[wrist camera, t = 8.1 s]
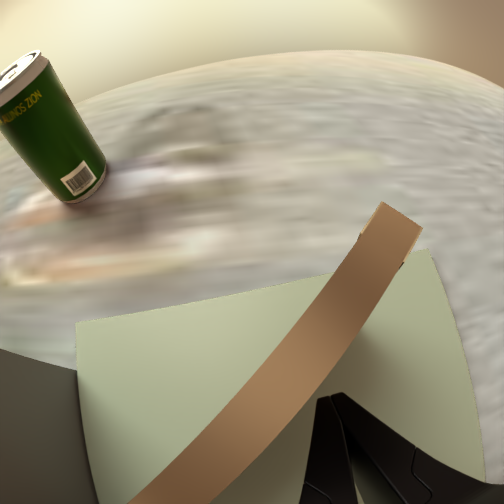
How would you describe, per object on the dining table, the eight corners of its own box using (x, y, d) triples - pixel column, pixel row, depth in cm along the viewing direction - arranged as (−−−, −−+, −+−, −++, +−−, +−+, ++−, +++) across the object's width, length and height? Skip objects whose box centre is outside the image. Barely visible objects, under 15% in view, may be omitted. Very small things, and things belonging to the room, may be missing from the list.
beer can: (121, 169, 23) (52, 48, 12) (74, 217, 21) (-18, 108, 10) (91, 149, 25) (31, 47, 14) (50, 190, 23) (-25, 96, 12)
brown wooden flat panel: (137, 545, 10) (43, 608, 2) (120, 530, 10) (18, 583, 2) (353, 317, 15) (422, 228, 7) (333, 303, 16) (381, 200, 7)
